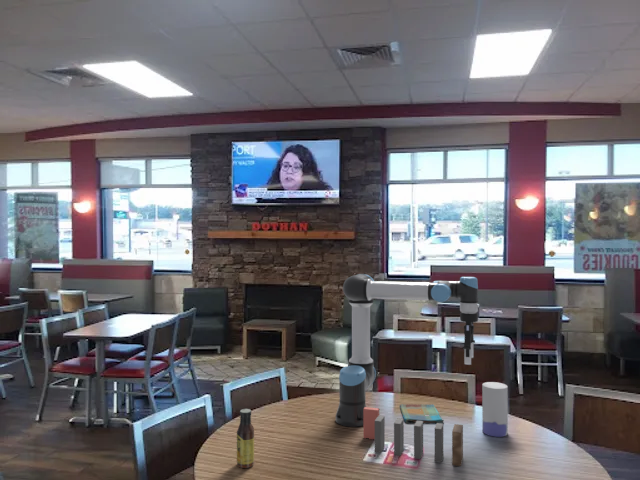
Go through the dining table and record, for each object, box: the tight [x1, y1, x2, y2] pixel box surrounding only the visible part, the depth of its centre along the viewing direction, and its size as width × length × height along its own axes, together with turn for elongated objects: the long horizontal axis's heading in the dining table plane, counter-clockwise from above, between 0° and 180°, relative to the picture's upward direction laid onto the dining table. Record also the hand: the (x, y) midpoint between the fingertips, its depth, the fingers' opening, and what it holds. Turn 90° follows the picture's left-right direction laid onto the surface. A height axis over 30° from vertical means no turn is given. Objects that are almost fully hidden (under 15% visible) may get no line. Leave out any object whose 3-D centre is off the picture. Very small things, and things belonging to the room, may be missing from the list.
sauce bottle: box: [236, 408, 255, 469], centre depth 182 cm, size 7×6×20 cm
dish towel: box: [399, 403, 445, 425], centre depth 235 cm, size 17×23×2 cm
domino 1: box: [374, 415, 386, 454], centre depth 195 cm, size 2×6×12 cm, turn 159°
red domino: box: [362, 406, 380, 440], centre depth 207 cm, size 2×6×12 cm, turn 69°
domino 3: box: [413, 420, 424, 460], centre depth 190 cm, size 2×6×12 cm, turn 159°
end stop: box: [451, 423, 464, 467], centre depth 185 cm, size 3×8×12 cm, turn 159°
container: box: [481, 381, 509, 438], centre depth 213 cm, size 10×10×20 cm
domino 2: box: [393, 417, 405, 457], centre depth 193 cm, size 2×6×12 cm, turn 159°
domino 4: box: [434, 423, 444, 463], centre depth 187 cm, size 2×6×12 cm, turn 159°
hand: (469, 360), depth 221 cm, fingers open, 13 cm apart
